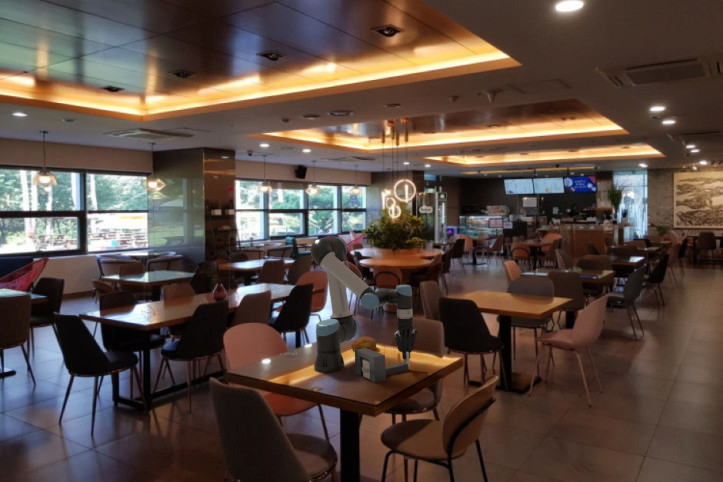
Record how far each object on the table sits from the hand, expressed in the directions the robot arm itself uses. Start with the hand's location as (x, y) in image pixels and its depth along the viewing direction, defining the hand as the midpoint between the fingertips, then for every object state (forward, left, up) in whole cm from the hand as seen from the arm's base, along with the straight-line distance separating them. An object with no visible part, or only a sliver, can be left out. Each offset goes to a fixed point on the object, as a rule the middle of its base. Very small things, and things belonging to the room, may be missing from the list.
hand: (406, 365), depth 262 cm
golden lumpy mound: (-47, +4, -2) cm, 47 cm away
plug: (0, -12, -2) cm, 13 cm away
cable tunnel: (0, -21, -2) cm, 21 cm away
